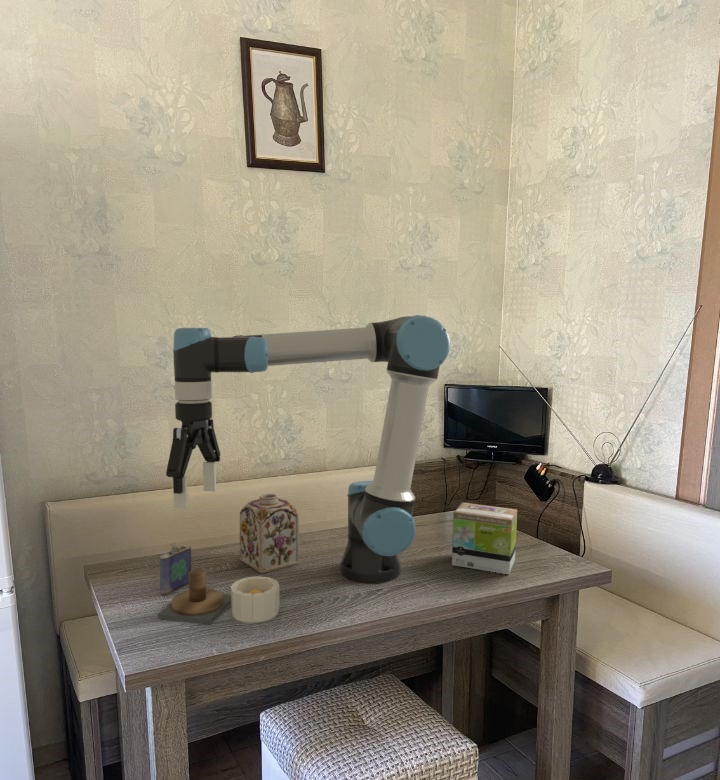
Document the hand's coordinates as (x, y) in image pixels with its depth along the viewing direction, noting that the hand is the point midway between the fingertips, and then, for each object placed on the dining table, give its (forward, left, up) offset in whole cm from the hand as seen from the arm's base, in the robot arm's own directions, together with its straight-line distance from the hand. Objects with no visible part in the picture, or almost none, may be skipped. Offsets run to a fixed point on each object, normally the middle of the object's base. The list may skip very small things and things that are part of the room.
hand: (196, 499), depth 134 cm
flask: (+10, -9, -25) cm, 28 cm away
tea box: (-61, -40, -25) cm, 77 cm away
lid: (0, 0, -24) cm, 24 cm away
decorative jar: (-6, -29, -25) cm, 39 cm away
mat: (0, 0, -25) cm, 25 cm away
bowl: (-13, -1, -25) cm, 28 cm away
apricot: (-13, -1, -25) cm, 28 cm away
